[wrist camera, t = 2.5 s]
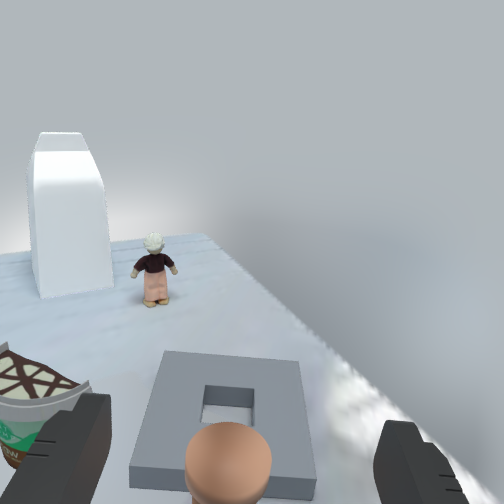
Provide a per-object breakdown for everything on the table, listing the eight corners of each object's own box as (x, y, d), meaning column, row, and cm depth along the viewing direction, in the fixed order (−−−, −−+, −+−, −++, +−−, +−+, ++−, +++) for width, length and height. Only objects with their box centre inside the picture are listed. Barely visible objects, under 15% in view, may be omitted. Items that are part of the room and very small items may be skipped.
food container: (-40, 450, 44) (-58, 372, 40) (14, 412, 49) (3, 339, 45) (48, 506, 40) (38, 424, 36) (97, 458, 45) (93, 381, 41)
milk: (40, 299, 72) (22, 139, 61) (32, 270, 81) (15, 126, 70) (114, 287, 78) (109, 140, 67) (99, 261, 87) (92, 127, 76)
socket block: (295, 379, 59) (298, 361, 58) (312, 500, 43) (316, 479, 42) (164, 368, 59) (164, 350, 58) (129, 487, 42) (129, 465, 41)
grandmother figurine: (168, 292, 78) (169, 226, 73) (178, 301, 75) (181, 234, 70) (127, 302, 73) (126, 233, 68) (137, 313, 71) (136, 241, 66)
